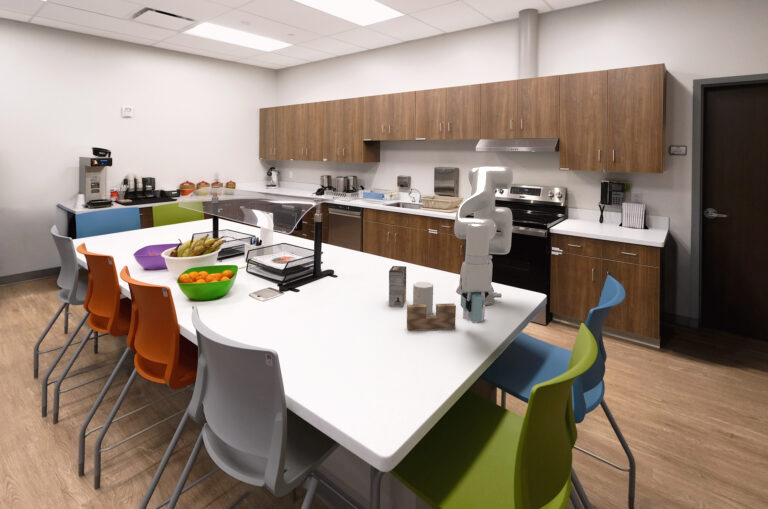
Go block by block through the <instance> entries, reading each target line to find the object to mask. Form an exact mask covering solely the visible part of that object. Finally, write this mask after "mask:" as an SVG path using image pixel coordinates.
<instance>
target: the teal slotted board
mask: <svg viewBox="0 0 768 509" xmlns="http://www.w3.org/2000/svg"><path fill="white" fill-rule="evenodd" d="M462 292H463V291H462ZM464 293H465V292H464ZM470 299H471V301H472V304H471V312H469V311H468V310H467V309H466V299H465V298H464V297H463V296H462V295H460V307H461V308H462V310H463V309H464V311H468V316H469V317H470V319H471V320H472V322H471V323H474V322H475V323H482V322H483V320H482V305H483V296H482V295H481V294H480V293H479V292H471V298H470Z"/></svg>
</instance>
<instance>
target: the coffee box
mask: <svg viewBox="0 0 768 509" xmlns="http://www.w3.org/2000/svg"><path fill="white" fill-rule="evenodd" d="M406 302H407V266H405V265H404V266H403V265H402V266H401V265H393V266H392V267H390V269H389V270H388V307H393V308H394V307H395V308H403V307H404V306H405V303H406Z"/></svg>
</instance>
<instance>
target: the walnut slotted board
mask: <svg viewBox="0 0 768 509" xmlns="http://www.w3.org/2000/svg"><path fill="white" fill-rule="evenodd" d="M426 313H427V307H426V305H425V304H414V305H413V304H406V329H407V331H420V330H421V331H423V330H424V331H427V330H453V329H456V318H457V305H456V304H455V303H453V302H452V303H451V302H449V303H436V304H435V315H433V314H431V315H428V316H426Z"/></svg>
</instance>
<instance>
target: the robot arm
mask: <svg viewBox="0 0 768 509" xmlns="http://www.w3.org/2000/svg"><path fill="white" fill-rule="evenodd" d="M467 178H468V181H469V184H470V187H471V192H470V196H469V197H468V198H466V199H465V200H464V201H463V202H462V203H461V204H460V205H459V206H458V208H457V210H456V213H455V220H454V226H453V227H454V229H453V231H454V235H455V237H456V238H457V239H460V240H465V258H464V261H463V262H462V264H461V268H460V274H459V280H458V281H459V284H458V286H457V288H456V290H455V293H457V294H458V295H460V296H461V295H462V296H463V297H464V298H465V299H466V309H467V310H468V311H469V312H471V304H472V301H471V299H470V298H471V292H479V293H480V294H481V295H482V296H483V305H485V306H490V305H493V304H494V303H495V298H502V296H503V295H502V293H501V292H500V293H499V292H496V291H495V290H494V287H493V285H492V279H493V261H492V259H493V255H507V254H509V253H510V251H511V247H512V237H513V236H512V234H513V213H512V210H511V208H509V207H506V206H505V207H504V206H496V194H495V193H496V192H495V191H496V190H497V189H498V190H509V189H511V188H512V186H513V183H514V182H513V181H514V173H513V170H512V168H511V167H509V166H504V165H503V166H502V165H501V166H495V165H492V166H491V165H490V166H489V165H486V166H476V167H473V168H471V169H469V170H468V177H467ZM472 213H473V217H467V216H469V215H471V214H472ZM497 230H499V231H497ZM462 291H463V292H462ZM464 292H465V293H464ZM483 305H482V308H483Z"/></svg>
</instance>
